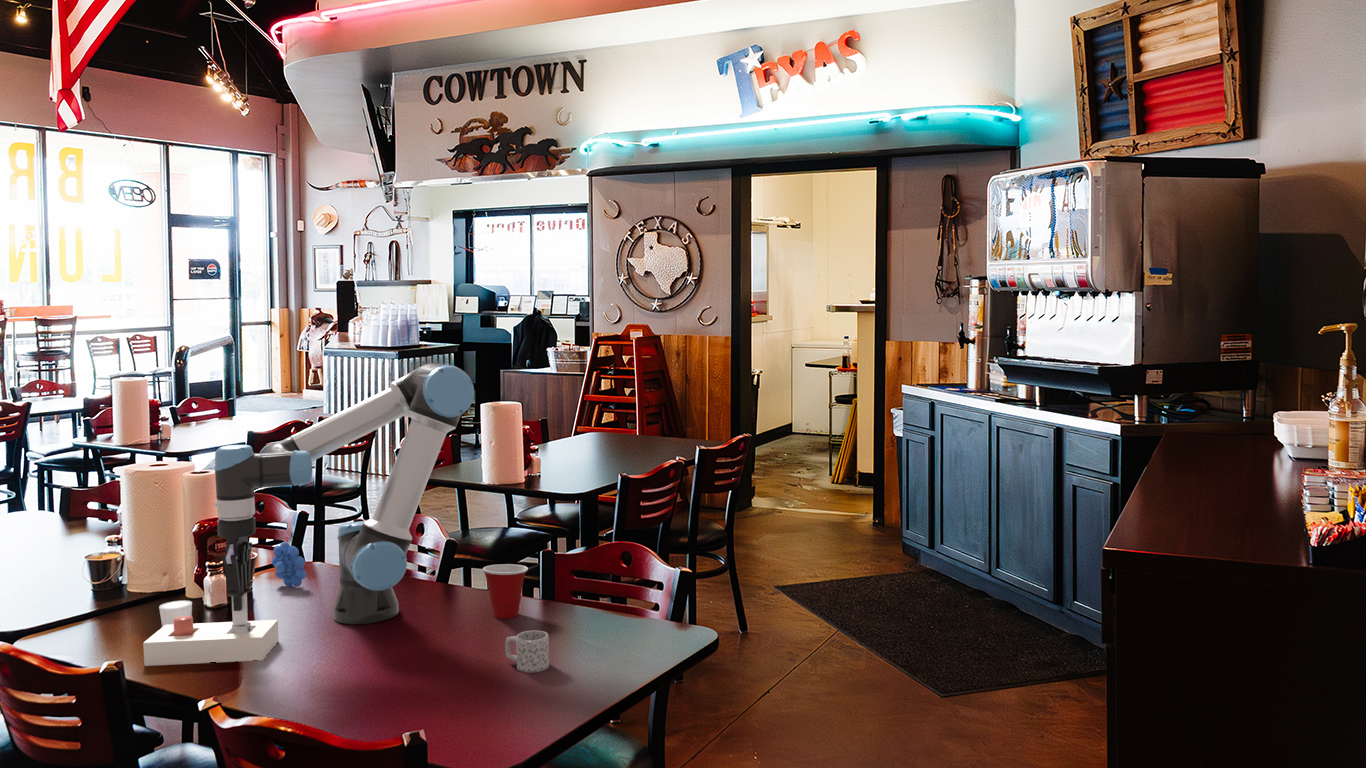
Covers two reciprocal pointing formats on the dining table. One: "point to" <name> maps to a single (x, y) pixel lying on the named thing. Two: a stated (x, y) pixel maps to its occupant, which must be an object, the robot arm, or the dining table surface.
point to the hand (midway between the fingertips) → (240, 623)
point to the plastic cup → (505, 588)
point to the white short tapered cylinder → (174, 611)
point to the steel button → (241, 628)
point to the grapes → (289, 564)
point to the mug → (530, 651)
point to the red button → (183, 626)
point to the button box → (211, 644)
